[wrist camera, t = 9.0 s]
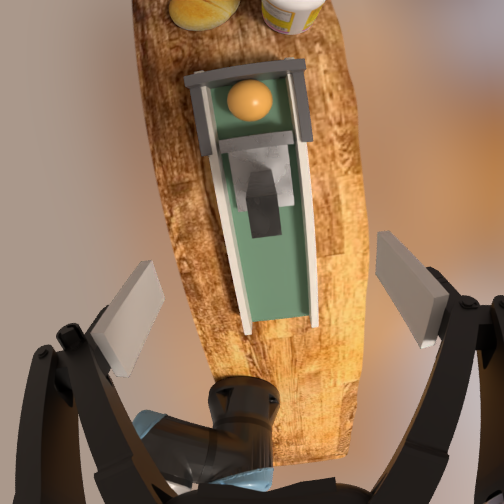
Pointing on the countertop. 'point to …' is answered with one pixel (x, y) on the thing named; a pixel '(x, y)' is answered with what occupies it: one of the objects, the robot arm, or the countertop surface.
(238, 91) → the ball
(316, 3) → the supplement bottle
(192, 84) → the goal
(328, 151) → the countertop surface
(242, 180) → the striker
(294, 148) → the board
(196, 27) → the bread roll
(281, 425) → the countertop surface
